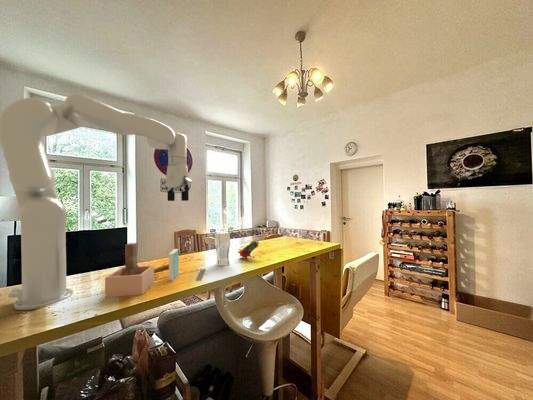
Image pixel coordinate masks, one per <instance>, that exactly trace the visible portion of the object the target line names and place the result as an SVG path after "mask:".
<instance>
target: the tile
mask: <svg viewBox="0 0 533 400" xmlns="http://www.w3.org/2000/svg"><path fill="white" fill-rule="evenodd" d="M179 260H180V259H179V248H174V249H173V250H171V251H170V252H169V253H168V264H169V270H168V281H175V279H176V278H177V276H178V275H179V273H180V269H179V268H180V267H179V265H180V264H179V262H180V261H179Z"/></svg>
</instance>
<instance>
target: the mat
mask: <svg viewBox="0 0 533 400" xmlns="http://www.w3.org/2000/svg"><path fill="white" fill-rule="evenodd" d="M205 272H206V269H205V268H201V269H199V273H198V274H197V276H196V279H195V282H200V281H202V280H203V277H204V274H205Z"/></svg>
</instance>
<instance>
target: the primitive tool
mask: <svg viewBox="0 0 533 400" xmlns="http://www.w3.org/2000/svg"><path fill="white" fill-rule="evenodd" d="M163 271H169V263H168V264H166V265H162V266H159V267H157V268H154V274H156V273H160V272H163Z"/></svg>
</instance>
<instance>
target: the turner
mask: <svg viewBox="0 0 533 400" xmlns="http://www.w3.org/2000/svg"><path fill="white" fill-rule="evenodd" d="M124 248H125V249H124V255H125V256H124V257H125V258H124V259H125V260H124V264H125V265H124V267H125V271H124V276H125V275H139V273H138V266H139V265H138V243H137V242H132V243H131V242H129V243H127V244H125V246H124Z"/></svg>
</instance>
